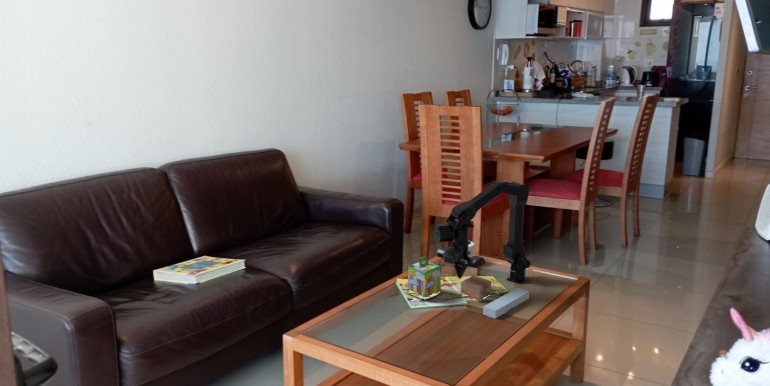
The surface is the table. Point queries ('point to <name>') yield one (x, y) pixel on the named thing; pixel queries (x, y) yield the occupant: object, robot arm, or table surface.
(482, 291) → the block
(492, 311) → the pale grey long bar
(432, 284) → the chalk box
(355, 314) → the table surface
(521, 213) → the robot arm
